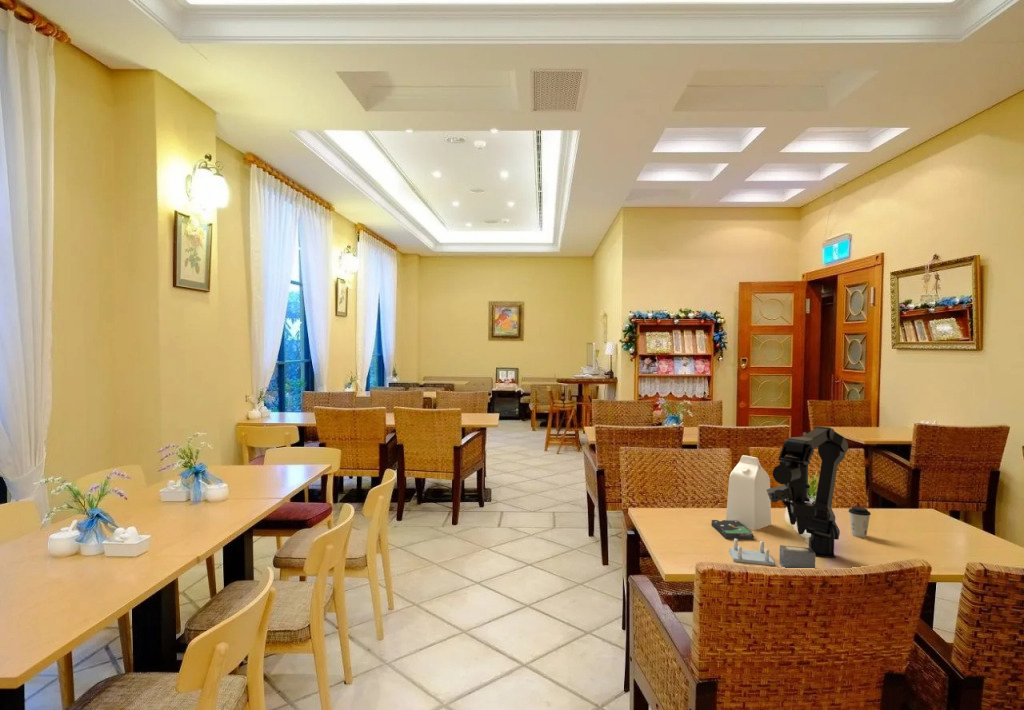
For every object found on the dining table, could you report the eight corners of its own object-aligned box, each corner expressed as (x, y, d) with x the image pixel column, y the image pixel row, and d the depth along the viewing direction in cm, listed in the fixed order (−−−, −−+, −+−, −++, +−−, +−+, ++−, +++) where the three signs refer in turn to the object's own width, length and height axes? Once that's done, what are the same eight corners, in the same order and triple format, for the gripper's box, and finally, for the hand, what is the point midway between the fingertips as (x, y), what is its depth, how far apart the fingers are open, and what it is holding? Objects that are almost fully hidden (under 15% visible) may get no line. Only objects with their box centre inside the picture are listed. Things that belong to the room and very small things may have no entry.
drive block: (810, 567, 168) (811, 547, 168) (815, 572, 164) (815, 553, 164) (779, 563, 170) (779, 544, 170) (782, 569, 166) (783, 549, 166)
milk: (771, 524, 208) (772, 457, 207) (754, 530, 201) (755, 461, 201) (742, 516, 218) (744, 452, 217) (725, 521, 211) (727, 455, 211)
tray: (767, 554, 177) (767, 541, 177) (774, 565, 169) (774, 551, 168) (728, 551, 180) (729, 537, 180) (733, 561, 171) (733, 547, 171)
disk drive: (710, 527, 206) (725, 540, 191) (710, 519, 206) (725, 532, 191) (737, 527, 206) (754, 541, 191) (737, 520, 206) (754, 533, 191)
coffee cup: (873, 539, 193) (874, 512, 193) (852, 538, 194) (853, 510, 194) (865, 533, 200) (865, 506, 199) (844, 531, 201) (845, 505, 201)
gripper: (763, 470, 178) (762, 517, 178) (776, 484, 160) (774, 536, 160) (800, 473, 175) (799, 520, 175) (817, 487, 157) (816, 540, 157)
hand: (796, 529), depth 167 cm, fingers open, 9 cm apart
